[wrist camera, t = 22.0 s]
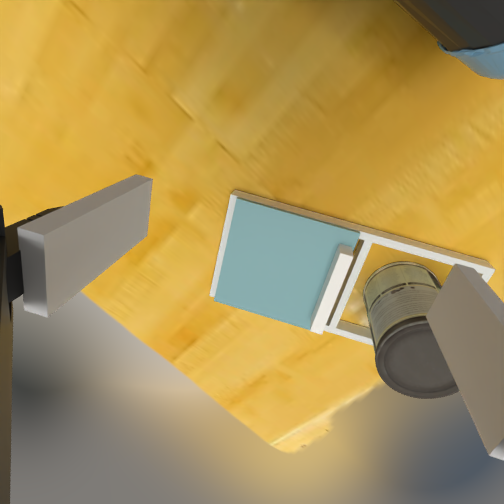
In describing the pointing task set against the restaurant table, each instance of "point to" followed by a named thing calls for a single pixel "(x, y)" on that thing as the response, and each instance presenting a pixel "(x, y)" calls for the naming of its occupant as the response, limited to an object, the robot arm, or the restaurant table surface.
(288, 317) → the cover
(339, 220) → the sliding panel frame
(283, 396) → the restaurant table surface
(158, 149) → the restaurant table surface
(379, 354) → the coffee can
